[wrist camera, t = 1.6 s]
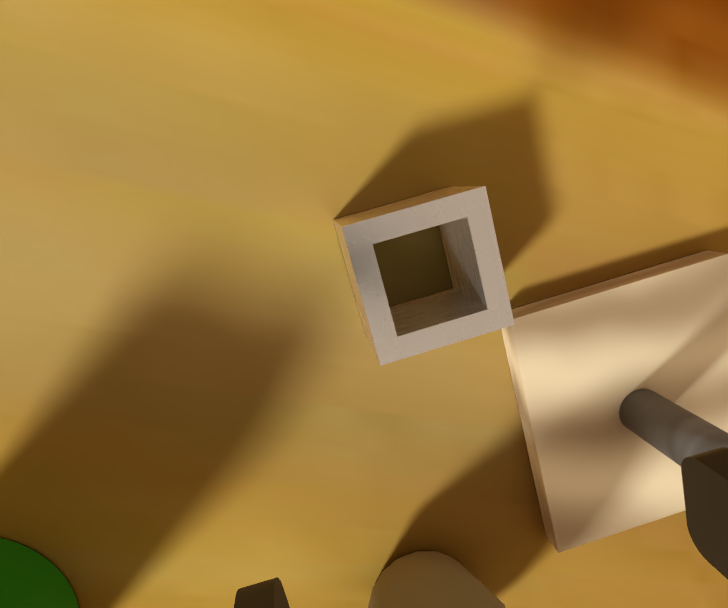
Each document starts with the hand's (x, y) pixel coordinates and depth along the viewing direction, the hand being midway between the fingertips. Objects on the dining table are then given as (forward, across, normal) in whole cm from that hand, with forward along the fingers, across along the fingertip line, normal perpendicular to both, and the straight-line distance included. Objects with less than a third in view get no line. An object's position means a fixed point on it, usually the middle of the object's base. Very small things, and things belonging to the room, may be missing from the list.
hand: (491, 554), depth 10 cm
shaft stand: (+18, -13, +8) cm, 23 cm away
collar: (+17, -3, -3) cm, 18 cm away
